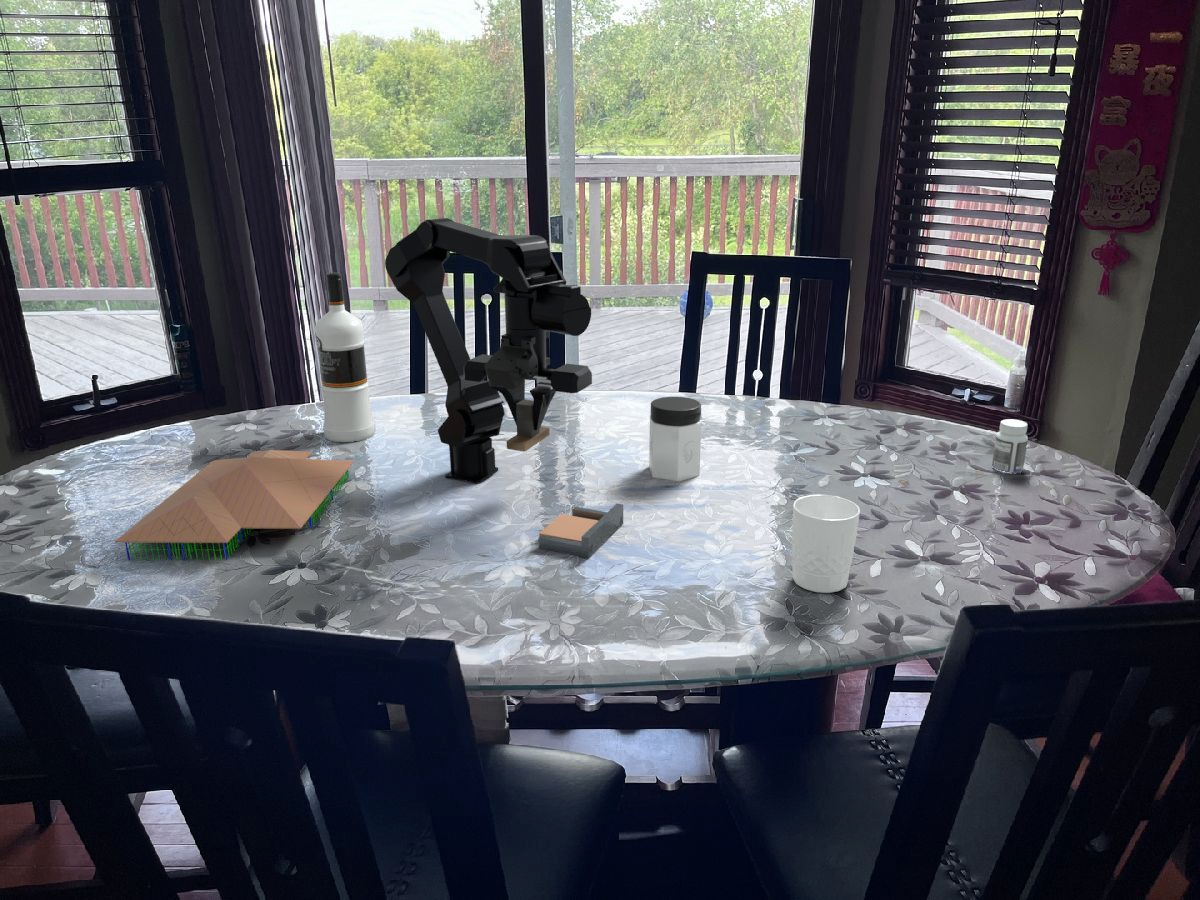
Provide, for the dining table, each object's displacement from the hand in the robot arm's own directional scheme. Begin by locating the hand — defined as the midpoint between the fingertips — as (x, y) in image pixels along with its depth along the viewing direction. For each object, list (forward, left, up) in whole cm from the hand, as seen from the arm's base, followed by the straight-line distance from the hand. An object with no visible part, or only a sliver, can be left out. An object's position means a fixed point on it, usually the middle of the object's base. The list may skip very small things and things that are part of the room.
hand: (528, 428), depth 134 cm
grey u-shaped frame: (+13, -10, -11) cm, 20 cm away
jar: (+17, +18, -11) cm, 27 cm away
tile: (+12, -10, -12) cm, 19 cm away
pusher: (0, 0, -2) cm, 2 cm away
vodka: (-44, +12, -11) cm, 47 cm away
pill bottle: (+67, +40, -11) cm, 79 cm away
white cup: (+46, -10, -11) cm, 48 cm away
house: (-35, -21, -12) cm, 43 cm away
